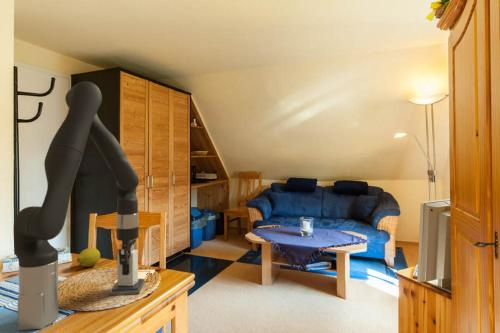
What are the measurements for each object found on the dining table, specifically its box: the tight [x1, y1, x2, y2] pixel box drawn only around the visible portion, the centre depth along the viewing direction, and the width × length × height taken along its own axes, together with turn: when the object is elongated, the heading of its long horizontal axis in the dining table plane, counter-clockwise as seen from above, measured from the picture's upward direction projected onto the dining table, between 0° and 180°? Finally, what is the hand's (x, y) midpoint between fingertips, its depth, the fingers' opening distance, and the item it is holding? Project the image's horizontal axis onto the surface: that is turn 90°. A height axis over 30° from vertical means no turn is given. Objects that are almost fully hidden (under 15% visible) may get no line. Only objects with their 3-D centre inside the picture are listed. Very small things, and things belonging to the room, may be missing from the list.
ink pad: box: [108, 279, 146, 296], centre depth 107 cm, size 10×10×2 cm
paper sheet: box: [113, 269, 156, 284], centre depth 118 cm, size 12×13×1 cm
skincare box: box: [116, 249, 139, 286], centre depth 107 cm, size 6×4×12 cm
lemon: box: [76, 247, 101, 268], centre depth 129 cm, size 11×8×8 cm
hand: (127, 271), depth 107 cm, fingers closed on skincare box, 5 cm apart
